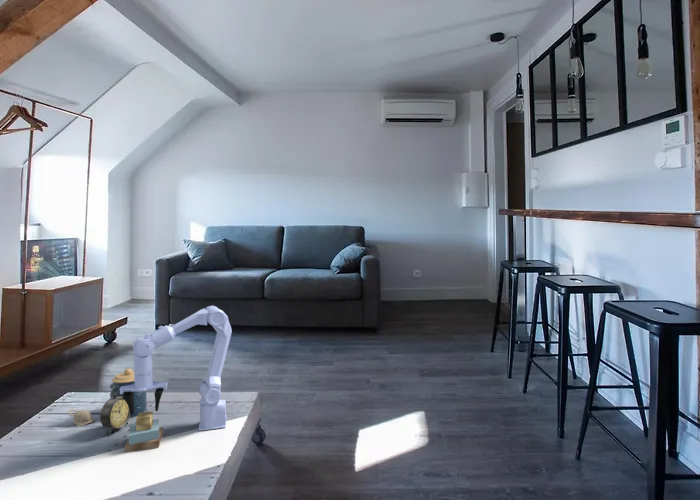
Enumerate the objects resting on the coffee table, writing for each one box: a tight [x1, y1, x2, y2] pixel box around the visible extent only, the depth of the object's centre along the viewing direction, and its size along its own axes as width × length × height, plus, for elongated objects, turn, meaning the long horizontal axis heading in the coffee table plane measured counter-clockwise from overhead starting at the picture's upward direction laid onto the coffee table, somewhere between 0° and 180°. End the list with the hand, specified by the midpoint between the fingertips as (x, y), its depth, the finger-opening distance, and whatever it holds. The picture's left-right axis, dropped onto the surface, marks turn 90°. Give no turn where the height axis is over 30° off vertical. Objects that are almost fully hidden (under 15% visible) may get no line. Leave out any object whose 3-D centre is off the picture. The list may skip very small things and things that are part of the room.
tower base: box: [124, 426, 164, 453], centre depth 140 cm, size 10×10×3 cm
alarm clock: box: [99, 386, 131, 437], centre depth 148 cm, size 11×5×16 cm, turn 168°
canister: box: [109, 368, 148, 418], centre depth 163 cm, size 13×13×18 cm
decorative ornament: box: [67, 409, 95, 427], centre depth 154 cm, size 4×8×5 cm, turn 88°
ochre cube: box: [135, 410, 154, 431], centre depth 139 cm, size 4×4×4 cm
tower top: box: [128, 418, 160, 445], centre depth 140 cm, size 9×9×3 cm
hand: (144, 411), depth 140 cm, fingers open, 7 cm apart
